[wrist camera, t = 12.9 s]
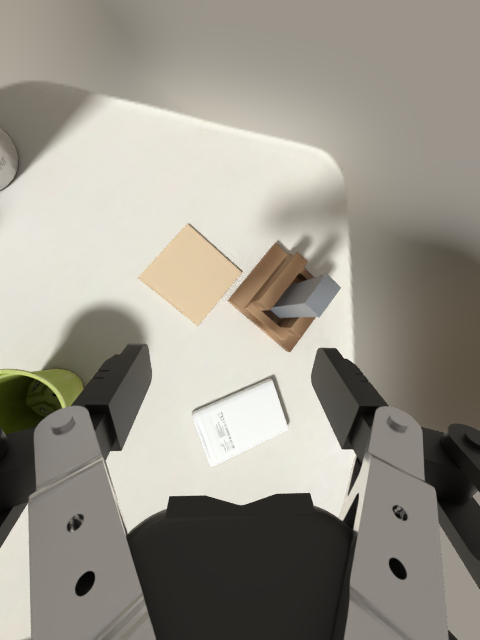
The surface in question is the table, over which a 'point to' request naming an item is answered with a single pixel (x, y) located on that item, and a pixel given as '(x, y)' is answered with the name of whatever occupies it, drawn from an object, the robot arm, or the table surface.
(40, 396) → the plant pot
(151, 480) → the table surface
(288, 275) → the rack
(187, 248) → the cork mat
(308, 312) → the grey rectangular block
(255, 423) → the external hard drive
